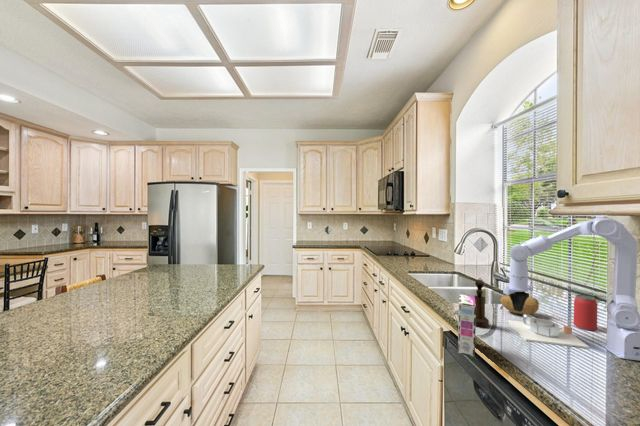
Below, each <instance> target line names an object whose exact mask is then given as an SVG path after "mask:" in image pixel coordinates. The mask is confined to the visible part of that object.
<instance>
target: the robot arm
mask: <svg viewBox="0 0 640 426" xmlns="http://www.w3.org/2000/svg"><path fill="white" fill-rule="evenodd" d="M593 234H594V235H596V236H599V237H601V238H603V239H605V240H607V242H609V243H611V244H612V245H613V246H614V261H613V263H614V264H613V283H612V284H613V285H612V288H613V289H612V293H611V296H610V301H609V303H608V304H607V305H606V311H607V313H608V314H609V315H610V316H609V318H607V319H606V343H605V342H599V345H600V346H602V348H604V349H605V350H607V351H609V352H610V353H612V354H613V355H614V356H616V357H617V358H619V359H624V360H631V361H640V313H639V310H638V308H639V307H638V303H637V302H638V301H637V299H636V293H637V292H636V290H637V289H636V286H637V270H638V268H637V267H638V244H639V243H638V241H637V239H636V238H635V237H634V236H633V234H631V232H630V231H629V230H628V229H627V228H626V227H625V225H624V224H623V223H621V222H619V221H618V220H615V219H613V218H610V217H604V216H599V217H598V216H597V217H595V218H592V219H588V220H583V221H581V222H578V223H575V224H573V225H570V226H569V227H566V228H564V229H561V230H559V231H556V232H554V233H553V234H550V235H548V236H547V235H543V234H540V235H537V234H536V235H533V237H532V238H531V239H528V240H525V241H520V242H519V244H514V245H512V247H510V250H509V256H510V259H509V261H510V263H509V284H506V287H504V288H502V289H503V291H502V292H503V293H502V294H504V295H509V296H510V298H511V301H512V304H513V307H514V310H515V311H518V312H521V311H522V309H523V306H524V303H525V301H526V300H527V298H528V297H530V293H528V291H529V292H533V291H534V286H533V285H531V284H530V285H529V284H528V283H529V282H528V281H529V280H528V277H529V265H528V258H529V257H530V256H531V257H533V256H536V255H539V254H542V253H544V252H547V251H550V250H552V247H553V245H555V244H557V243H559V242H562V241H566V240H568V239H571V238H573V237H577V236H593Z"/></svg>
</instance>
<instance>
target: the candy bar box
mask: <svg viewBox="0 0 640 426" xmlns="http://www.w3.org/2000/svg"><path fill="white" fill-rule="evenodd" d="M474 296H475V295H474ZM474 296H473V295H468V294H467V295H466V294H461V293H460V294H459V299H458V329H457V330H458V331H457V333H458V335H457V337H458V340H457V343H458V344H457V346H458V348H457V351H458V352H457V353H458V354H461V355H465V356H468V357H472V358H474V357H475V356H476V354H475V353H476V332H477V331H476V330H477V329H476V328H477V327H476V304H475V297H474Z"/></svg>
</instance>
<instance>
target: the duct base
mask: <svg viewBox="0 0 640 426" xmlns="http://www.w3.org/2000/svg"><path fill="white" fill-rule="evenodd" d="M551 321H552V320H548V319H544V318H537V319H536V323H537V324H539V325H542V326H547V327H553V322H554V321H552V322H551ZM507 323H508V324H509V325H510V326H511V327H512V328H513V329H514V330H515V331H516V332H517V333H518V334H519V335H520V336H521V338H522V340H524V341H526V342H532V343H540V344H541V343H542V344H549V345H556V344H557V345H558V346H564V347H565V346H566V347H574V346H575V348H584V349H590V346H589V345H588V344H586V342H583V341H582V340H581V339H580V338H578V337H577V336H575V335H574V334H573V327H572V326H569V325H563V326H562V325H559V336H556V337H550V336H545V335H541V334H538V333H535V332H533V331H532V330H530V325H528V324H526V323H524V322H523V321H520V320H519V321H518V320H509V319H507Z"/></svg>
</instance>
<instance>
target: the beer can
mask: <svg viewBox="0 0 640 426" xmlns="http://www.w3.org/2000/svg"><path fill="white" fill-rule="evenodd" d="M573 325H574V326H575V327H577V328H579V329H581V330H585V331H591V332H592V331H596V330H598V302H597V301H596V298H595V297H593V296H590V295H584V294H576V295H575V297H574V300H573Z"/></svg>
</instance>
